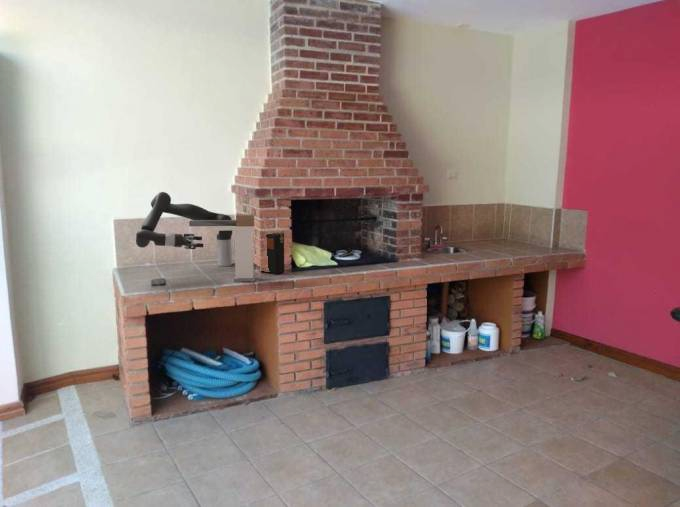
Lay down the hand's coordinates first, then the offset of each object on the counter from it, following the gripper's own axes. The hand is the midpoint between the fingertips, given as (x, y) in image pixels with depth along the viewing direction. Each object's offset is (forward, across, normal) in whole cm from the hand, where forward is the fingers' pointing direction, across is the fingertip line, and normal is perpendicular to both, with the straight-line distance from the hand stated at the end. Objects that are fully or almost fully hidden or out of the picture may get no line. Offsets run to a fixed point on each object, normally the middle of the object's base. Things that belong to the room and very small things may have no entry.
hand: (202, 242), depth 314 cm
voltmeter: (+44, +2, -18) cm, 47 cm away
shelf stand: (+18, +15, -16) cm, 29 cm away
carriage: (+9, +4, +13) cm, 16 cm away
